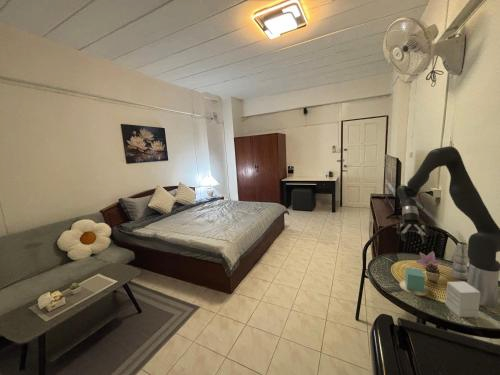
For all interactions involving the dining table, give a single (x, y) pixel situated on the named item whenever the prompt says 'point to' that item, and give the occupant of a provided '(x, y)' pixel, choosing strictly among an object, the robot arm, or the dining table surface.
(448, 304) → the supplement box
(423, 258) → the lily
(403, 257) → the dining table surface
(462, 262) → the plastic bottle
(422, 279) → the teal block
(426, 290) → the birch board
